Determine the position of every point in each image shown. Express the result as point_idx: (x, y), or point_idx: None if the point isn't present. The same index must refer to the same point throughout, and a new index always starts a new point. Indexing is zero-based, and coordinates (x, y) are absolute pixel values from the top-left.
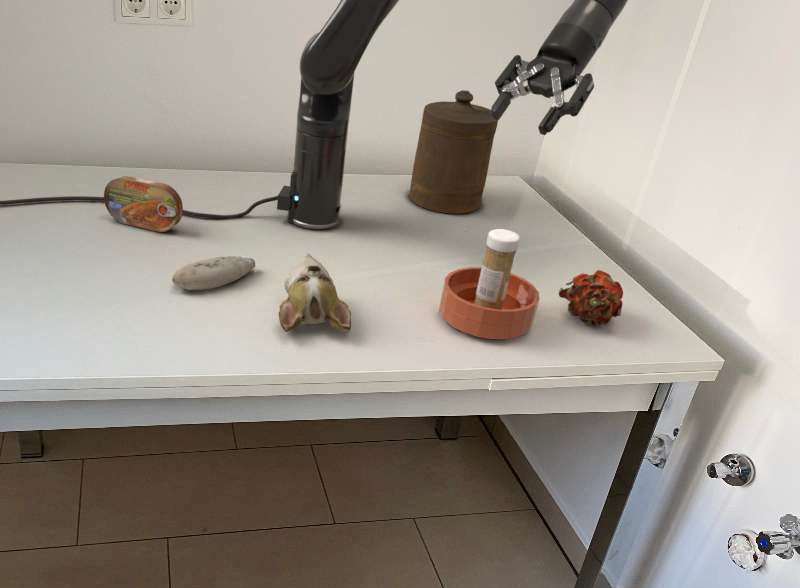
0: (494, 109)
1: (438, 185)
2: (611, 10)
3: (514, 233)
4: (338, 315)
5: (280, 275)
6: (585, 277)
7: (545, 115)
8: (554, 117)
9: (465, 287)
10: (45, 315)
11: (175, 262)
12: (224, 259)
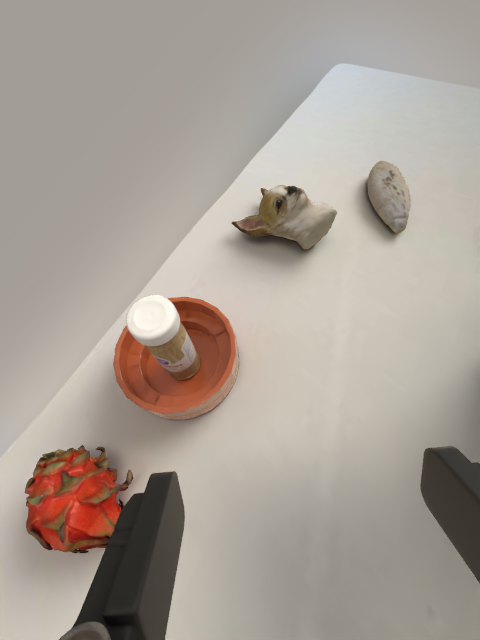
0: (449, 452)
1: None
2: None
3: (141, 331)
4: (257, 226)
5: (375, 250)
6: (84, 494)
7: (158, 530)
8: (106, 559)
9: (220, 359)
10: (374, 113)
11: (436, 193)
12: (396, 193)
